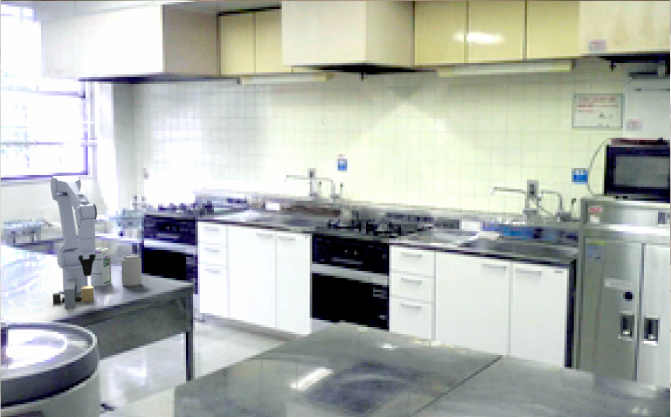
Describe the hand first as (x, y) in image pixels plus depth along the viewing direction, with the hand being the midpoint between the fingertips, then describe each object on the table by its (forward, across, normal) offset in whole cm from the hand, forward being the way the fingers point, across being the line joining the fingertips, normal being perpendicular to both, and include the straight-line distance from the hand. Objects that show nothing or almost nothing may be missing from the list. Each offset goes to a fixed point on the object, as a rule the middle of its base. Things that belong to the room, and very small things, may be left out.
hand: (87, 275), depth 238 cm
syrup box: (+10, -26, +3) cm, 27 cm away
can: (+10, -22, +15) cm, 29 cm away
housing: (+9, 0, -6) cm, 11 cm away
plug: (+9, 0, -5) cm, 11 cm away
